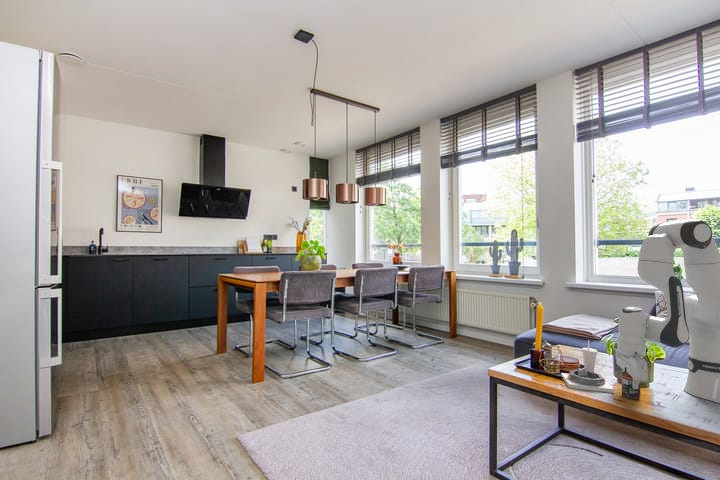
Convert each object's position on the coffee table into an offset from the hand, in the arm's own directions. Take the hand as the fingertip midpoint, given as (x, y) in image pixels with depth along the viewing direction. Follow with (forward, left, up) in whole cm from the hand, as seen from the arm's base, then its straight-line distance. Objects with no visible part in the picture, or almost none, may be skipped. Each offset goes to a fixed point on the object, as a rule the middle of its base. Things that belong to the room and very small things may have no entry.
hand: (630, 384), depth 145 cm
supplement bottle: (0, 0, -5) cm, 5 cm away
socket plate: (+13, -9, -5) cm, 16 cm away
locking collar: (+13, -9, -3) cm, 16 cm away
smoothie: (+6, -30, -5) cm, 31 cm away
